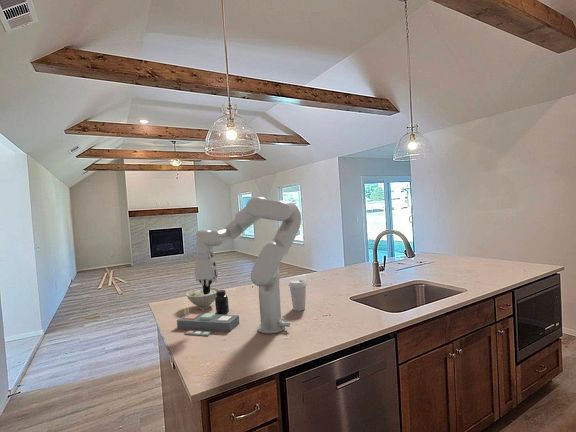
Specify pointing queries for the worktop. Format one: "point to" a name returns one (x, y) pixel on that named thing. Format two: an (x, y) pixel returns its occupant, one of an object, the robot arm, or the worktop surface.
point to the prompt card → (198, 333)
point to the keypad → (208, 323)
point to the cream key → (224, 318)
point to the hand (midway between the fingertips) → (206, 293)
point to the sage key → (207, 316)
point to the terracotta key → (191, 316)
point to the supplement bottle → (221, 302)
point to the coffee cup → (298, 294)
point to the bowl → (202, 297)
